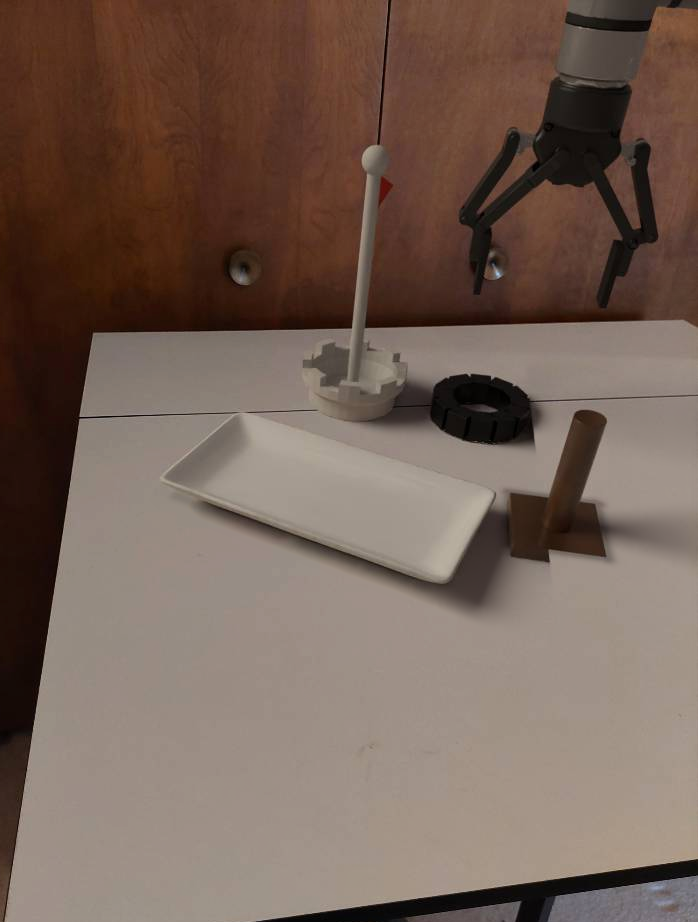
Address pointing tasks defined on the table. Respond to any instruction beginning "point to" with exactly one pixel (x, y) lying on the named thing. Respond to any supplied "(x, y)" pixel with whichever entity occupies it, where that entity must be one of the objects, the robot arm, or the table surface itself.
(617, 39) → the robot arm
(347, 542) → the tray
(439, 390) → the ring
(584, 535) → the post
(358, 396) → the flag stand
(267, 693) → the table surface
